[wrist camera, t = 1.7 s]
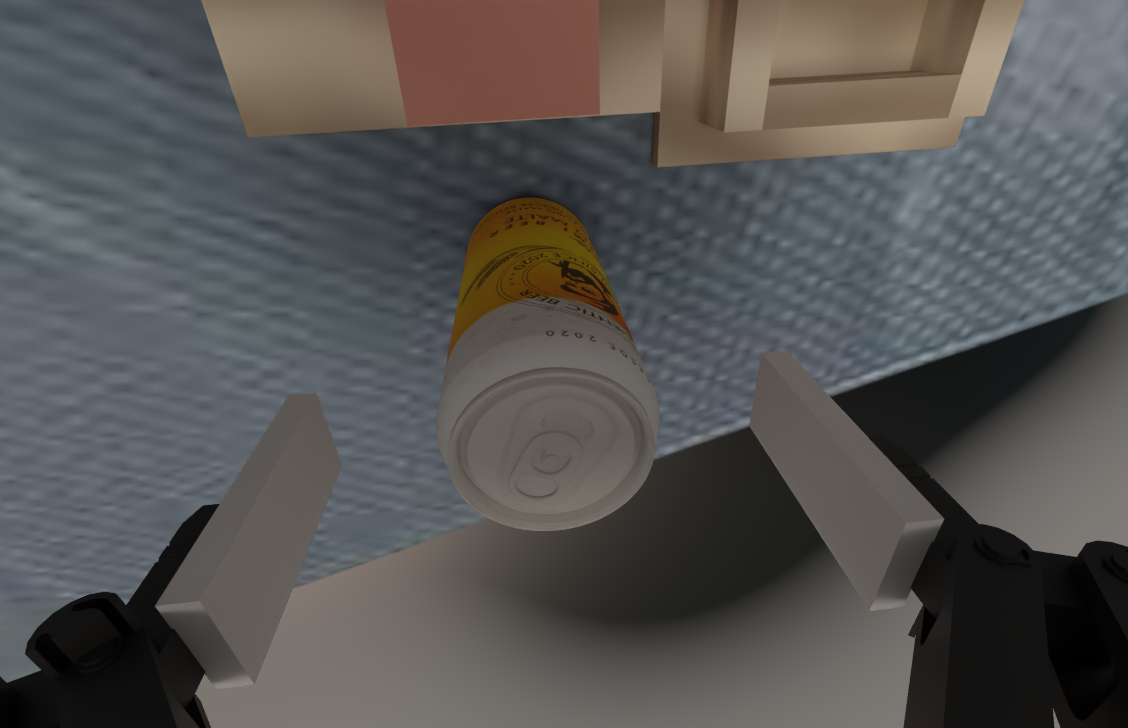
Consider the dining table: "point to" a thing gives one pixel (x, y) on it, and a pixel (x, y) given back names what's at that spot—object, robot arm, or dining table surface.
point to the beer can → (542, 377)
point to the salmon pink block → (495, 59)
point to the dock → (663, 71)
